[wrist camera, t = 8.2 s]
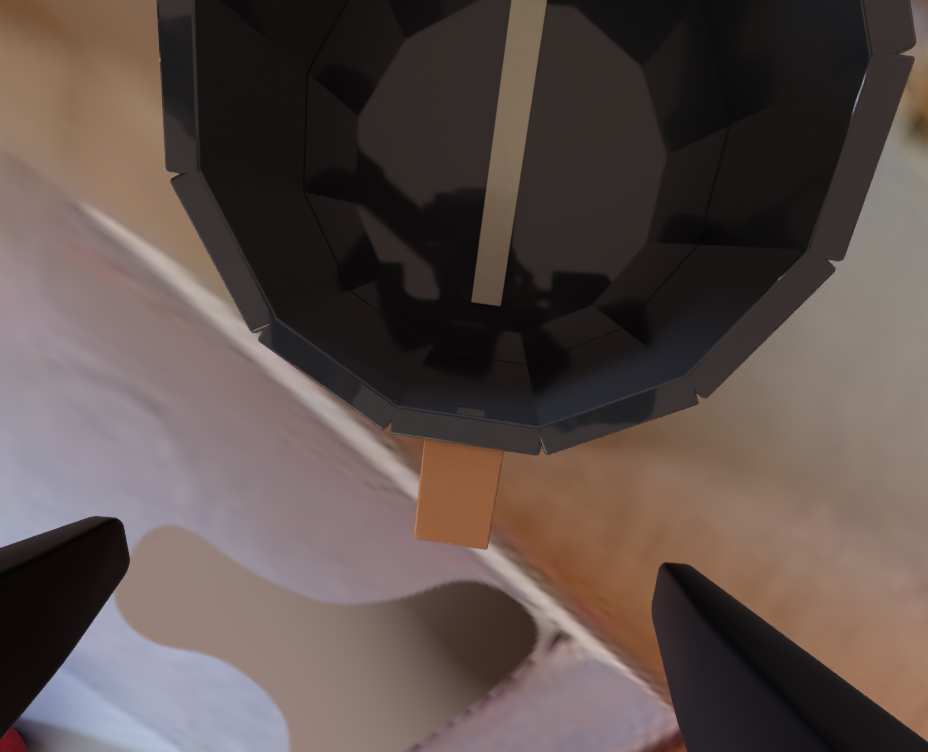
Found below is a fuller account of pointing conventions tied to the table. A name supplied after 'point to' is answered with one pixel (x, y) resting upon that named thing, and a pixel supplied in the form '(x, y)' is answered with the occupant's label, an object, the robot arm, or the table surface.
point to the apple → (12, 742)
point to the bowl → (523, 200)
